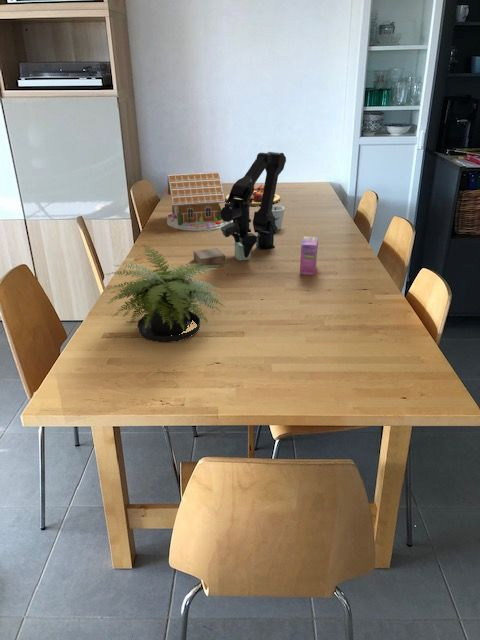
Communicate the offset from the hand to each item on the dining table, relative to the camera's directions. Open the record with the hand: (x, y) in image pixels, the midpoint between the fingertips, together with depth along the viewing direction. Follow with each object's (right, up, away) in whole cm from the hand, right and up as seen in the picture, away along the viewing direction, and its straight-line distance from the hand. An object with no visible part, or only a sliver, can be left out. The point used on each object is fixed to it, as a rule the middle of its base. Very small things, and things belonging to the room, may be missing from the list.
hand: (242, 253), depth 212 cm
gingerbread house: (-20, +23, +51) cm, 60 cm away
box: (+25, -8, -12) cm, 29 cm away
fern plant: (-22, -30, -55) cm, 66 cm away
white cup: (+16, +18, +40) cm, 46 cm away
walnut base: (-13, -4, -3) cm, 14 cm away
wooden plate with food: (+6, +42, +90) cm, 100 cm away
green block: (0, -2, +1) cm, 2 cm away
